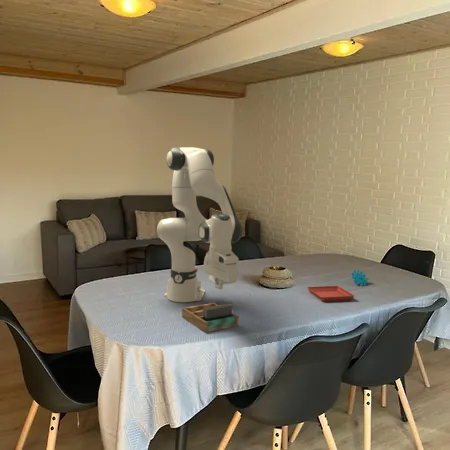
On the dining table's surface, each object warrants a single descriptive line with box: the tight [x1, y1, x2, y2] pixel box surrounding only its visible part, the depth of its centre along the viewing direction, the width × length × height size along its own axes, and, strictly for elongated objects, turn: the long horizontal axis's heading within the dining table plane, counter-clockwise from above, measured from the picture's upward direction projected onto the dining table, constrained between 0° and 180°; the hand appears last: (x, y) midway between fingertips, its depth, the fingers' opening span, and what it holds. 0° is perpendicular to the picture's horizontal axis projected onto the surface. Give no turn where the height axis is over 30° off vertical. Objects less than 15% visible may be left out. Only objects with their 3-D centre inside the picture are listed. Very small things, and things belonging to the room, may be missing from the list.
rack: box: [181, 302, 240, 333], centre depth 194 cm, size 16×19×4 cm
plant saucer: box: [306, 285, 355, 303], centre depth 235 cm, size 18×18×3 cm
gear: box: [350, 269, 370, 287], centre depth 261 cm, size 11×6×10 cm
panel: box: [203, 303, 233, 321], centre depth 189 cm, size 12×3×7 cm, turn 123°
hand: (218, 288), depth 187 cm, fingers closed
